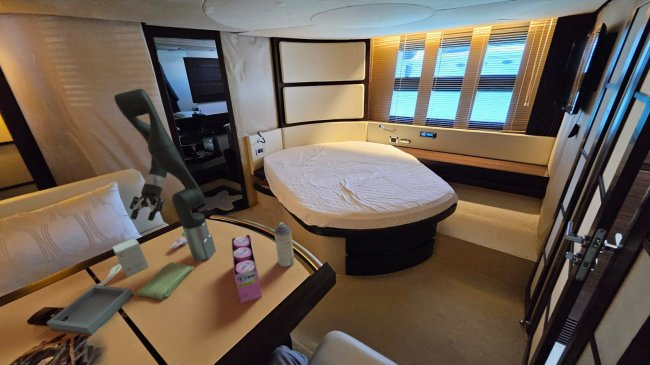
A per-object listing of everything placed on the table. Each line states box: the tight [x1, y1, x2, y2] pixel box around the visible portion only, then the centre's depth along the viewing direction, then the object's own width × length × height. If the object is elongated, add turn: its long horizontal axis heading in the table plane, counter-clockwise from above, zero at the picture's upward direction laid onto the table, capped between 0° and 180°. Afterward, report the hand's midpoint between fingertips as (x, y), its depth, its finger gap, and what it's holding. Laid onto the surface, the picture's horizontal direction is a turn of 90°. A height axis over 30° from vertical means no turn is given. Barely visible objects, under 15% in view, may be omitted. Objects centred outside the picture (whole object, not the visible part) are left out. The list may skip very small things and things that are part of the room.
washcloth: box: [136, 261, 195, 301], centre depth 100 cm, size 13×18×3 cm
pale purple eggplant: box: [170, 231, 188, 250], centre depth 123 cm, size 6×6×15 cm
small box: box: [111, 237, 150, 278], centre depth 105 cm, size 8×6×13 cm
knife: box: [89, 263, 122, 289], centre depth 103 cm, size 30×2×8 cm
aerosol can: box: [273, 221, 295, 268], centre depth 104 cm, size 7×7×20 cm
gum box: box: [231, 234, 263, 304], centre depth 98 cm, size 24×8×14 cm, turn 21°
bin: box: [46, 284, 134, 336], centre depth 88 cm, size 16×16×4 cm
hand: (141, 219), depth 110 cm, fingers open, 8 cm apart
